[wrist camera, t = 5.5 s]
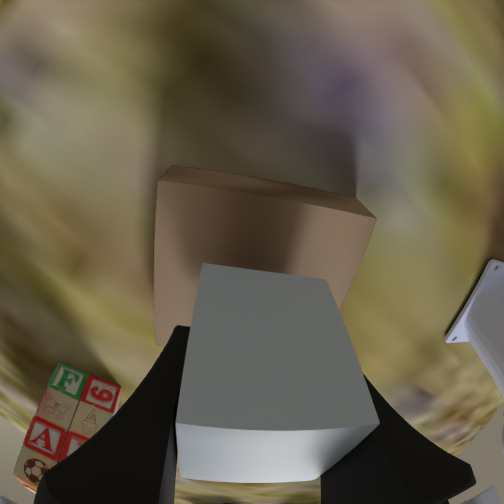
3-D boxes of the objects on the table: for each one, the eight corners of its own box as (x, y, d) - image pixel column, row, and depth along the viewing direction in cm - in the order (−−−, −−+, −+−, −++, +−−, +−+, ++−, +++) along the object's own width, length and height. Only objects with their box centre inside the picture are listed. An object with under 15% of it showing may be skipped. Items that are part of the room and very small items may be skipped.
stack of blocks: (114, 452, 31) (102, 523, 20) (74, 437, 29) (57, 506, 18) (122, 384, 21) (91, 514, 10) (57, 358, 20) (10, 477, 9)
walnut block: (353, 195, 14) (376, 218, 12) (305, 326, 18) (314, 361, 16) (174, 163, 13) (157, 180, 10) (165, 309, 17) (155, 344, 15)
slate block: (326, 278, 11) (380, 423, 5) (293, 358, 13) (314, 479, 8) (202, 262, 10) (175, 422, 5) (194, 348, 12) (180, 477, 7)
